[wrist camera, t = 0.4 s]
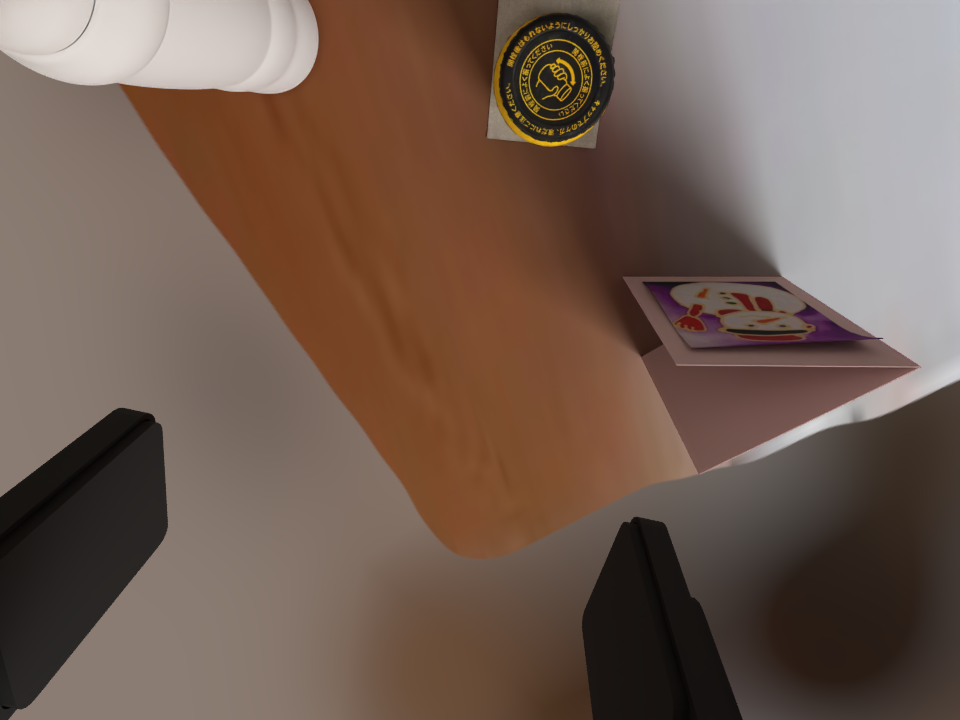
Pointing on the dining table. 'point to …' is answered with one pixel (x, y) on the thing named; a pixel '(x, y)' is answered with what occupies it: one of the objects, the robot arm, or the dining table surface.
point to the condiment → (552, 71)
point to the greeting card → (753, 359)
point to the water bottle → (164, 42)
